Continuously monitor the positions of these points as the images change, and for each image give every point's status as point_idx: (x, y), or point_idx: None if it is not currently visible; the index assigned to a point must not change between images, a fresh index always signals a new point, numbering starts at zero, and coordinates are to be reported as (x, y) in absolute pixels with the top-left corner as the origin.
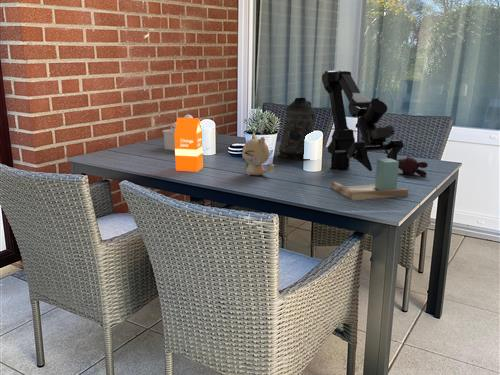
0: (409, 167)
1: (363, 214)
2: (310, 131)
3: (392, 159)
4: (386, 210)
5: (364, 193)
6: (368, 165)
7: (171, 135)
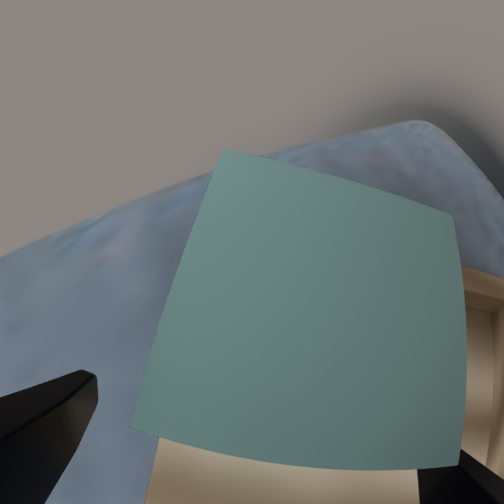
0: None
1: (490, 190)
2: None
3: (182, 316)
4: (423, 171)
5: (482, 273)
6: (479, 469)
7: None
